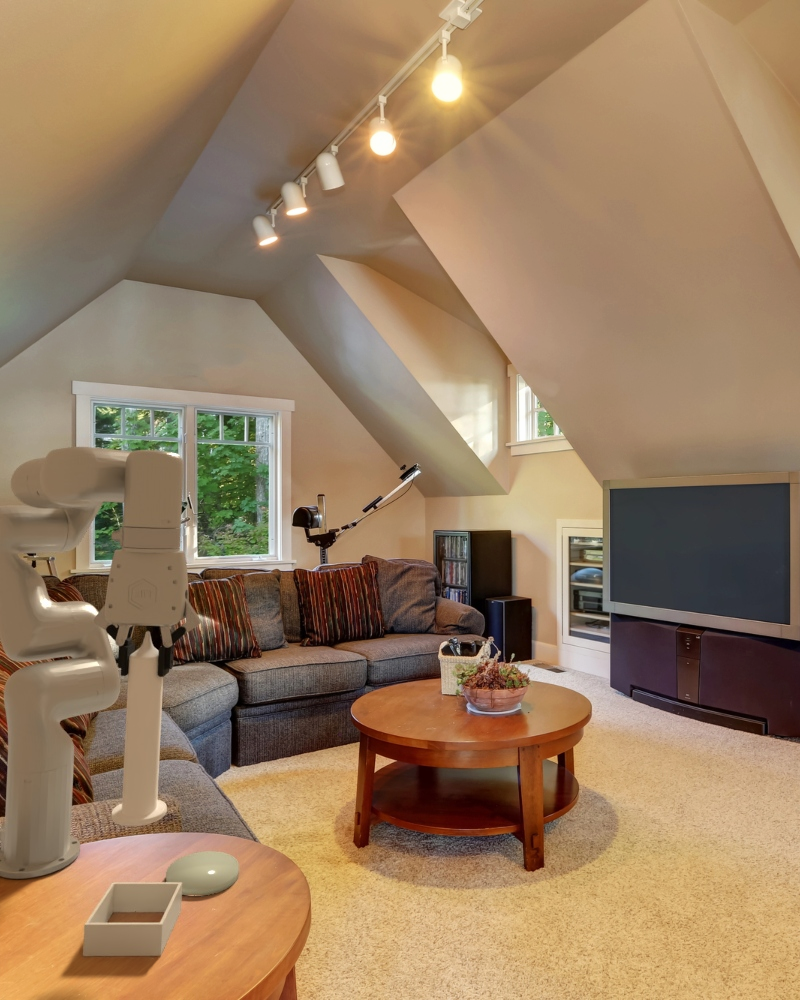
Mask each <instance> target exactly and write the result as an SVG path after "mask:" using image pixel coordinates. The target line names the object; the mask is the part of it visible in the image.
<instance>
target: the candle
mask: <svg viewBox="0 0 800 1000" xmlns="http://www.w3.org/2000/svg"><path fill="white" fill-rule="evenodd" d="M158 657H159V649H157V648H156V647H155V646H154V644H153V641H152V636H151V632H150V631H149V630H146V632H145V634H144V637H143V641H142V643H141V644H140V647H139V648H137V649H135V652H134V653H132V654H131V655H130V656H129V669H128V675H127V691H126V694H127V696H126V716H125V733H124V736H125V737H124V753H123V754H124V755H123V756H124V757H123V761H124V762H123V778H122V779H123V780H122V799H121V803H119V804H117V805H116V806H115V807H113V809H112V810H111V814H110V815H111V816H110V817H111V820H112V822H113V823H115V824H117V825H120V826H123V827H139V826H140V827H141V826H146V825H149V824H150V825H151V824H152V823H155V822H157V821H159V820H161V819H162V818H164V817H165V815H167V811H168V806H167V804H166V802H164V801H163V800H161V799H158V796H159V795H158V794H159V793H158V792H159V776H160V775H159V774H160V772H159V771H160V770H159V769H160V756H161V755H160V753H161V752H160V751H161V735H162V734H161V731H162V730H161V728H162V712H163V711H162V710H163V691H164V690H163V689H164V688H163V687H164V685H163V684H164V677H159V676H158Z"/></svg>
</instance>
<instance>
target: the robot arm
mask: <svg viewBox="0 0 800 1000" xmlns="http://www.w3.org/2000/svg"><path fill="white" fill-rule="evenodd" d="M11 475H12V476H11V478H10V488H11V491H12V493H13V494H14V497H16V499H17V500H19V501H20V502H21V503H23V504H25V505H20V504H19V505H17V504H7V505H6V504H5V505H4V504H3V505H0V643H1V646H2V649H3V652H4V653H5V655H6V656H7V658H8V659H10V660H12V661H14V662H19V663H27V662H35V661H36V662H37V661H43V662H40V663H39V662H38V663H35V664H30V665H27V666H23V667H22V668H20V669H18V670H16V671H15V672H13V673H12V674H11V675H10V676H9V677H8V678H7V680H6V681H5V685H4V688H3V703H4V709H5V716H6V724H7V772H6V773H7V774H6V790H5V791H6V792H5V793H6V794H5V795H6V797H5V815H4V816H5V817H4V821H3V822H2V823H1V826H0V843H1V844H0V877H1V878H4V879H5V878H6V879H14V880H15V879H16V880H19V879H20V880H23V879H24V880H25V879H33V878H38V877H42V876H46V875H49V874H53V873H54V872H57V871H60V870H61V869H63V868H65V867H67V866H69V865H70V864H72V863H73V862H74V861H75V860H76V859H77V858H78V856H79V855H80V852H81V843H80V842H81V841H79V840H78V838H77V837H75V836H73V835H71V832H72V831H71V829H72V828H71V825H72V810H73V809H72V808H73V806H72V805H73V783H74V763H75V746H74V742H73V740H72V739H73V738H71V736H70V735H69V733H67V731H65V730H64V728H63V727H62V726H61V724H60V723H61V721H64V720H66V719H70V718H74V717H79V716H83V715H87V714H92V713H96V712H101V711H103V710H107V709H108V708H109V707H111V706H112V705H114V704H115V703H116V702H117V700H118V698H119V696H120V694H121V693H120V691H121V679H120V676H121V677H125V676H128V669H129V656H130V655H131V654H132V653H134V652H135V651H136V644H135V642H134V641H133V639H132V637H133V633H134V629H135V626H145V627H147V626H150V627H159V628H160V633H161V639H162V642H161V646H160V647H159V648H158V650H159V657H158V676H159V677H163V678H164V677H165V676H166V675H167V674H168V673H169V672H170V670H172V669H173V667H174V657H175V656H174V652H175V651H174V650H175V644H176V643H177V642H178V641H179V640H180V639H181V638H182V637H184V636H185V635H186V634H187V633H189V632H190V631H192V630H193V629H195V628H197V627H198V626H199V625H200V624H201V622H202V620H201V618H200V617H199V616H198V614H197V612H196V611H195V609H194V607H193V606H192V604H191V602H190V601H189V599H190V597H189V596H190V595H189V578H188V566H187V558H186V554H185V551H184V550H181V533H182V528H181V526H182V508H183V492H184V491H183V490H184V489H183V487H184V482H183V481H184V460H183V458H182V457H181V455H180V454H178V453H176V452H173V451H165V450H156V449H155V450H154V449H140V450H133V451H131V450H121V449H114V448H113V449H111V448H103V447H91V446H90V447H89V446H70V447H69V446H68V447H62V448H61V447H60V448H55V449H52V450H50V451H49V452H48V453H47V455H46V456H45V457H39V458H38V457H37V458H34V459H30V460H27V461H25V462H23V463H21V464H20V465H19V466H18V467H16V469H15V470H14V471H13V473H12V474H11ZM106 502H107V503H120V504H121V503H122V504H123V515H122V526H121V527H120V529H118V530H113V531H112V532H111V540H112V541H117V542H119V544H120V547H121V549H116V550H114V553H113V556H112V560H111V565H110V571H109V574H108V579H107V580H108V582H107V589H106V594H105V595H106V596H105V602H104V603H105V604H104V605H103V606H102V608H101V609H100V610H98V609H97V608H96V607H95V606H94V605H93V604H91V603H89V602H87V601H81V600H73V601H72V600H70V601H58V602H56V601H53V600H52V599H51V598H50V596H49V593H48V589H47V587H46V586H47V585H46V583H45V580H44V579H43V577H42V575H41V574H40V573H39V572H38V571H37V570H36V569H35V568H34V567H33V566H32V565H31V564H29V563H28V562H27V561H25V560H23V559H22V558H21V557H20V556H19V554H48V553H49V554H51V553H52V554H53V553H55V554H56V553H67V552H69V551H72V550H74V549H75V548H76V547H78V546H79V544H80V543H81V542H82V541H83V539H84V536H86V534H87V532H88V531H89V528H90V526H91V525H92V524H93V521H94V520H95V518H96V517H97V515H98V512H99V511H100V510H101V507H102V506H103V504H104V503H106ZM184 619H185V621H186V622H185V623H183V624H181V625H180V626H179V627H178V628H176V624H178V623H180V621H182V620H184ZM108 635H109V636H110V637H111V639H113V640H114V642H115V645H116V646H118V658H117V661H116V658H115V655H114V651H113V649H112V648H113V647H112V645H111V641H110V638H109V636H108ZM64 657H71V658H68V659H58V658H64ZM56 658H57V659H58V660H52V659H56ZM50 659H51V661H44V660H50ZM119 669H120V672H119Z"/></svg>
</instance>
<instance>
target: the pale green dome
mask: <svg viewBox="0 0 800 1000" xmlns="http://www.w3.org/2000/svg"><path fill="white" fill-rule="evenodd" d="M239 875H240V863H239V861H238V859H237V858H236V857H234V856H233V855H232V854H229V853H226V852H222V851H213V850H208V851H205V850H204V851H197V852H194V853H189V854H186V855H184V856H181V857H180V858H177V859H176V860H175V861H173V862H171V864H170V865H169V866H168V868H167V869H166V871H165V882H182V895H183V894H184V895H194V896H195V895H208V896H210V895H209V894H212V895H215V894H214V893H216V894H219V893H221V892H224V891H225V890H227V889H229V888H230V887H231V886H233V885H234V884H235V883H236V882H237V880H238V879H239Z"/></svg>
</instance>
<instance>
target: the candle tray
mask: <svg viewBox="0 0 800 1000" xmlns="http://www.w3.org/2000/svg"><path fill="white" fill-rule="evenodd" d="M182 897H183V896H182V882H166V881H165V882H163V881H162V882H160V881H159V882H157V881H151V882H145V881H143V882H142V881H140V882H139V881H137V882H136V881H135V882H134V881H131V882H130V881H128V882H127V881H123V882H122V881H120V882H119V881H116V882H113V881H112V882H111V884H110V886H109V887H108V888H107V890H106V892H105V893H104V894H103V896H102V897H101V899H100V901H99V902H98V904H97V905H96V906H95V908H94V909H93V911H92V912H91V913H90V915H89V917H88V918H87V920H86V922H85V923H84V924H83V950H82V957H156V956H157V957H159V956H160V957H161V956H162V954H163V953H164V949H165V947H166V946H167V943H168V941H169V940H170V939H169V938H170V937H171V934H172V932H173V931H174V927H175V926H176V923H177V922H178V918H179V917H180V914H181V912H182ZM135 911H136V912H135ZM180 911H181V912H180ZM113 913H164V914H163V915H162V917H161V919H160V921H159V922H108V921H109V920H110V918H111V916H112V915H113Z"/></svg>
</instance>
